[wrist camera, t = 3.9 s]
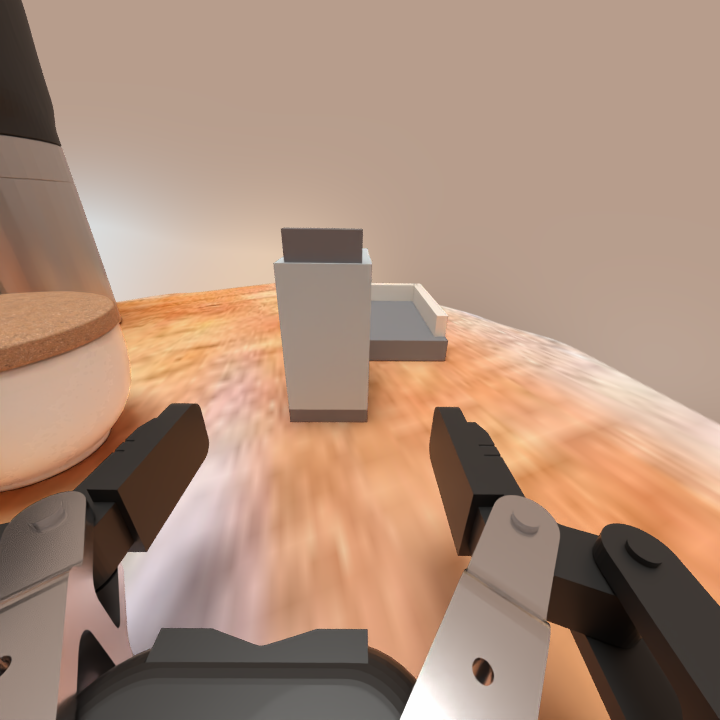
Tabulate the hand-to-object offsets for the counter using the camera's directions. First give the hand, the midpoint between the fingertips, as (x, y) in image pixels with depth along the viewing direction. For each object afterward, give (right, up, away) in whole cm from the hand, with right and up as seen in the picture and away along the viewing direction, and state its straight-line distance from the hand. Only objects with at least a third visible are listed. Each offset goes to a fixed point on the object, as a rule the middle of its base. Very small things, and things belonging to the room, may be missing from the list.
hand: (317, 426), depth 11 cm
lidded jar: (-16, -3, +7) cm, 18 cm away
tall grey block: (-1, 0, +12) cm, 12 cm away
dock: (+4, +5, +23) cm, 24 cm away
